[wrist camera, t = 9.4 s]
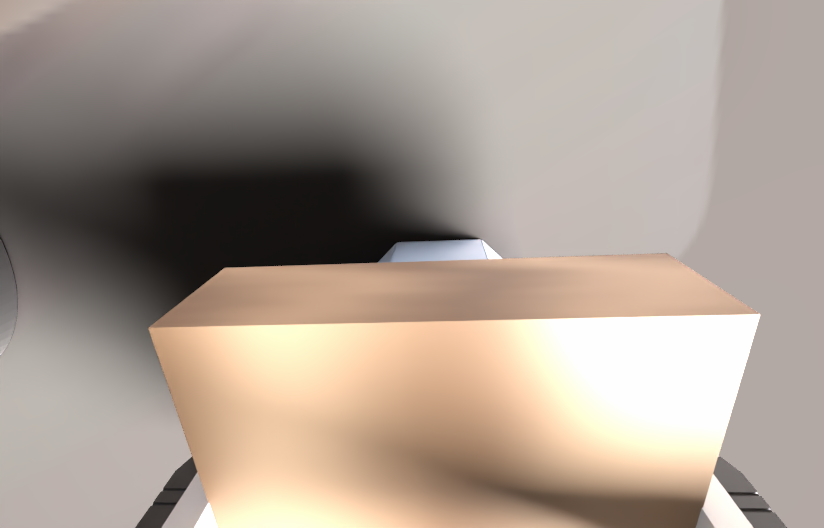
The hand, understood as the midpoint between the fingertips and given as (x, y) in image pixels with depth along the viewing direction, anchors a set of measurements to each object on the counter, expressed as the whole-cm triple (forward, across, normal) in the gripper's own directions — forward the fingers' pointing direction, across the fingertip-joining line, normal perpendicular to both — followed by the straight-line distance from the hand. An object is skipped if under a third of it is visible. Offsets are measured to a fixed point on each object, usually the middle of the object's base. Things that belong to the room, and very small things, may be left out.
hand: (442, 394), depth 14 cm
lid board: (-2, 0, 0) cm, 2 cm away
